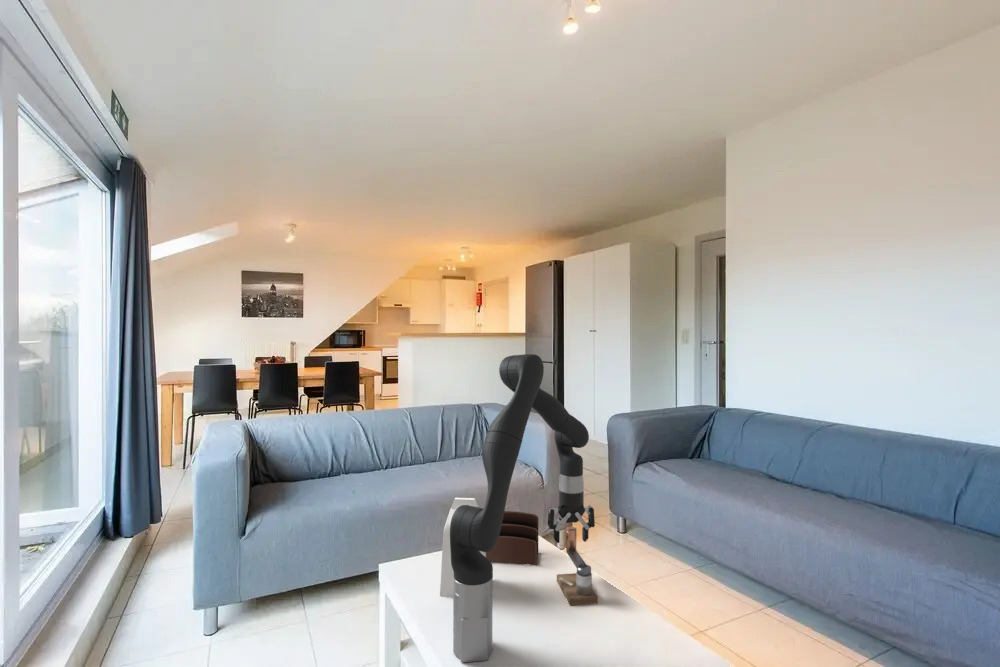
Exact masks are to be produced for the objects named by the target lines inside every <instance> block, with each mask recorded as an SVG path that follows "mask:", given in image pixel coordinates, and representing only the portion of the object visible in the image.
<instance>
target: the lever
mask: <svg viewBox="0 0 1000 667" xmlns="http://www.w3.org/2000/svg"><path fill="white" fill-rule="evenodd" d="M565 549H566V553H567V555H568V557H569V559H570V560H571V561H572V564H573V565H574V566H575V568H576V572H577V574H579V575H581V576H589V575H591V573H592V566H591V565H589V564H587V563H586V561H584V559H583V558H582V556H581V555H580V553H579V552H578V550H577V527H573V526H566V527H565Z"/></svg>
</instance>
